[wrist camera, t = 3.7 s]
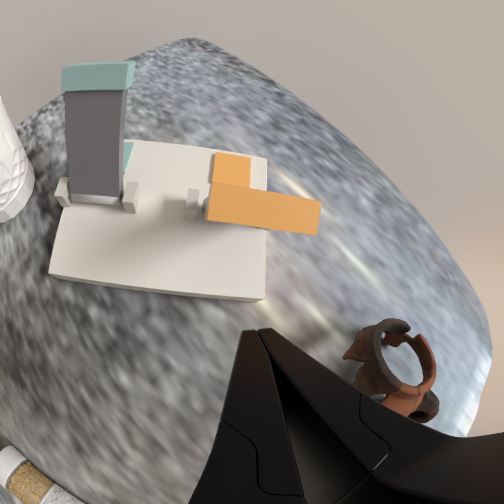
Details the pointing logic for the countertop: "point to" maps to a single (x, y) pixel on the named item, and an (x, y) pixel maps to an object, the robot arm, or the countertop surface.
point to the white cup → (13, 170)
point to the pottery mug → (384, 381)
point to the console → (165, 227)
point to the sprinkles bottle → (29, 481)
